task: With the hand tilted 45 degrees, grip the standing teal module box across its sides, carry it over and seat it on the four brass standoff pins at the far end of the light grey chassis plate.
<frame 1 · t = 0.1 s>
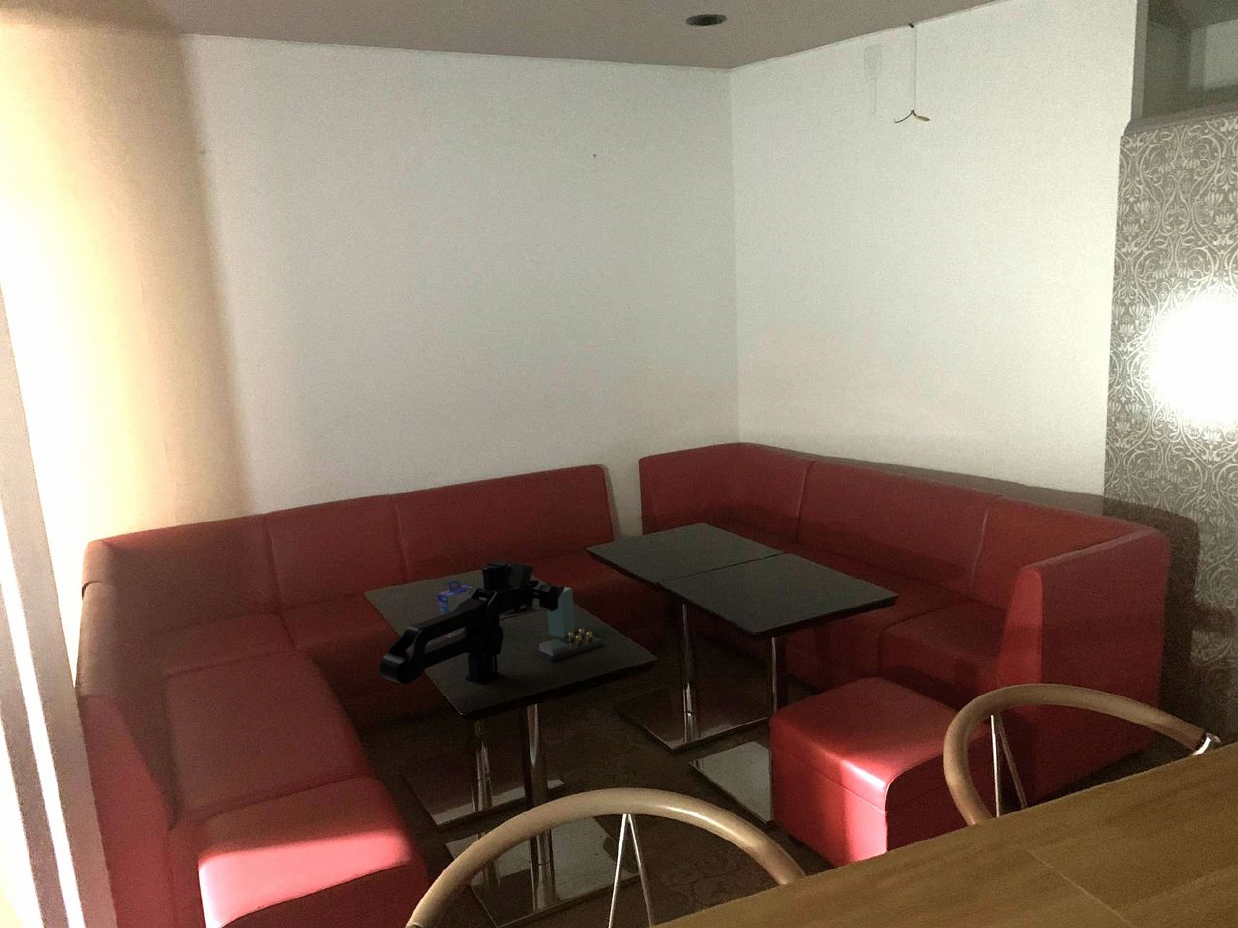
hand: (550, 584, 247), 17 cm above the table, tool horizontal, fingers open, 9 cm apart
module: (561, 633, 258), on the table
chassis: (581, 645, 248), on the table
ink cartridge box: (460, 632, 264), on the table
graphics card: (505, 608, 285), on the table
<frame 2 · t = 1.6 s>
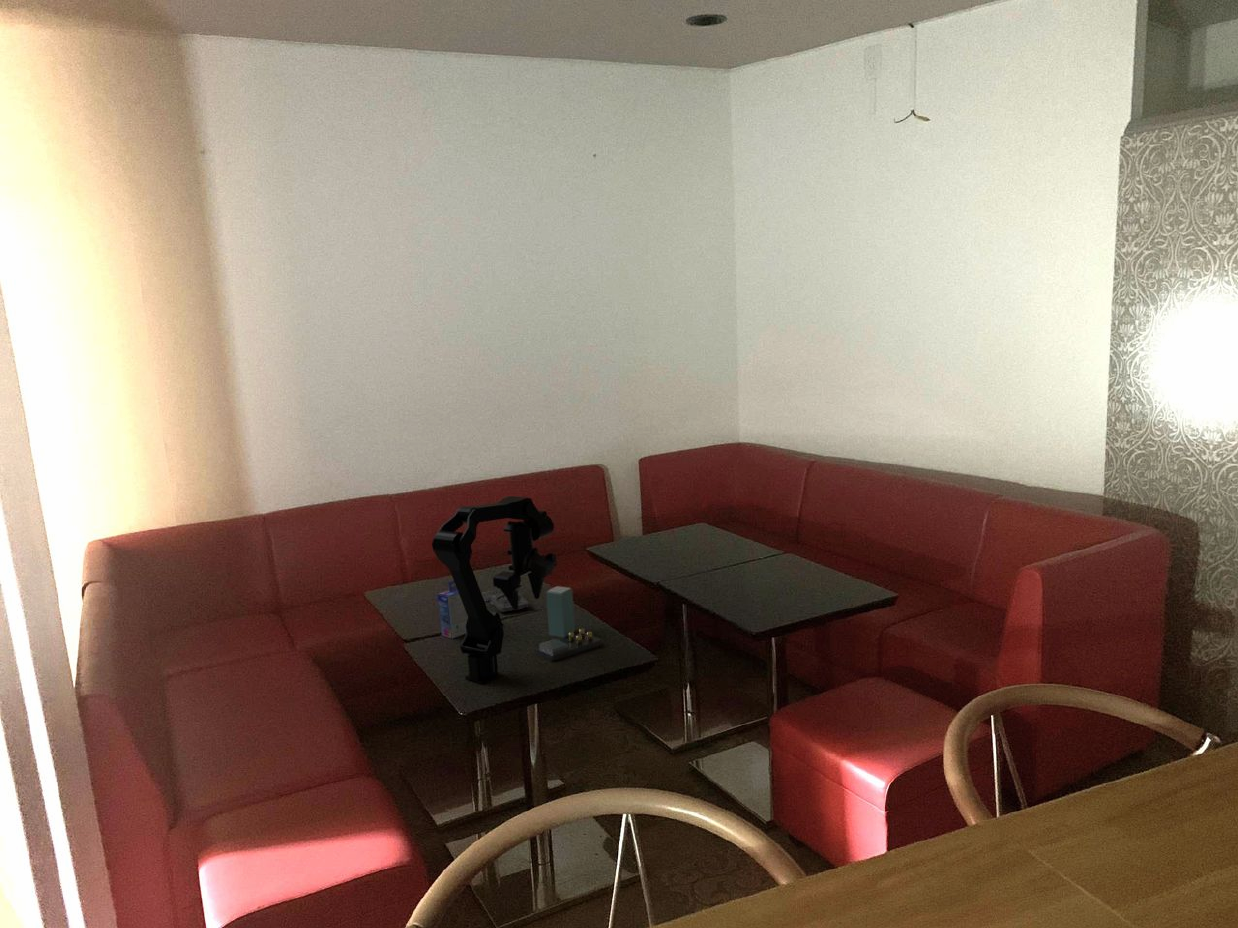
hand: (526, 604, 243), 13 cm above the table, tool pointing down, fingers open, 9 cm apart
nothing on the table moved.
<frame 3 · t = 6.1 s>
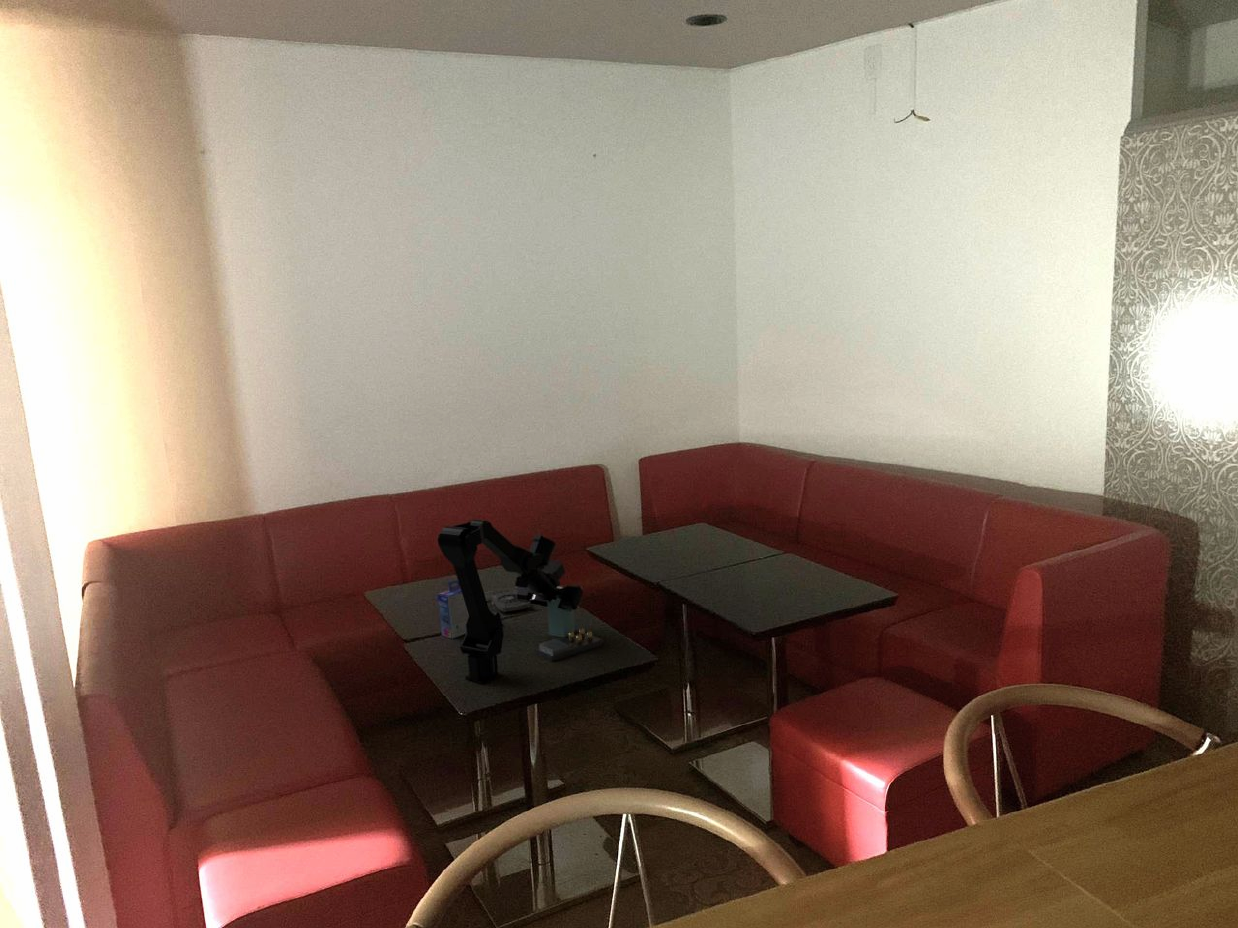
hand: (563, 608, 258), 7 cm above the table, tool tilted 45°, fingers closed on module, 5 cm apart
module: (561, 633, 258), on the table, touching gripper
everything else where it was.
when the fingers open (11 cm above the table, at t = 8.9 s): module stays where it is, resting on chassis.
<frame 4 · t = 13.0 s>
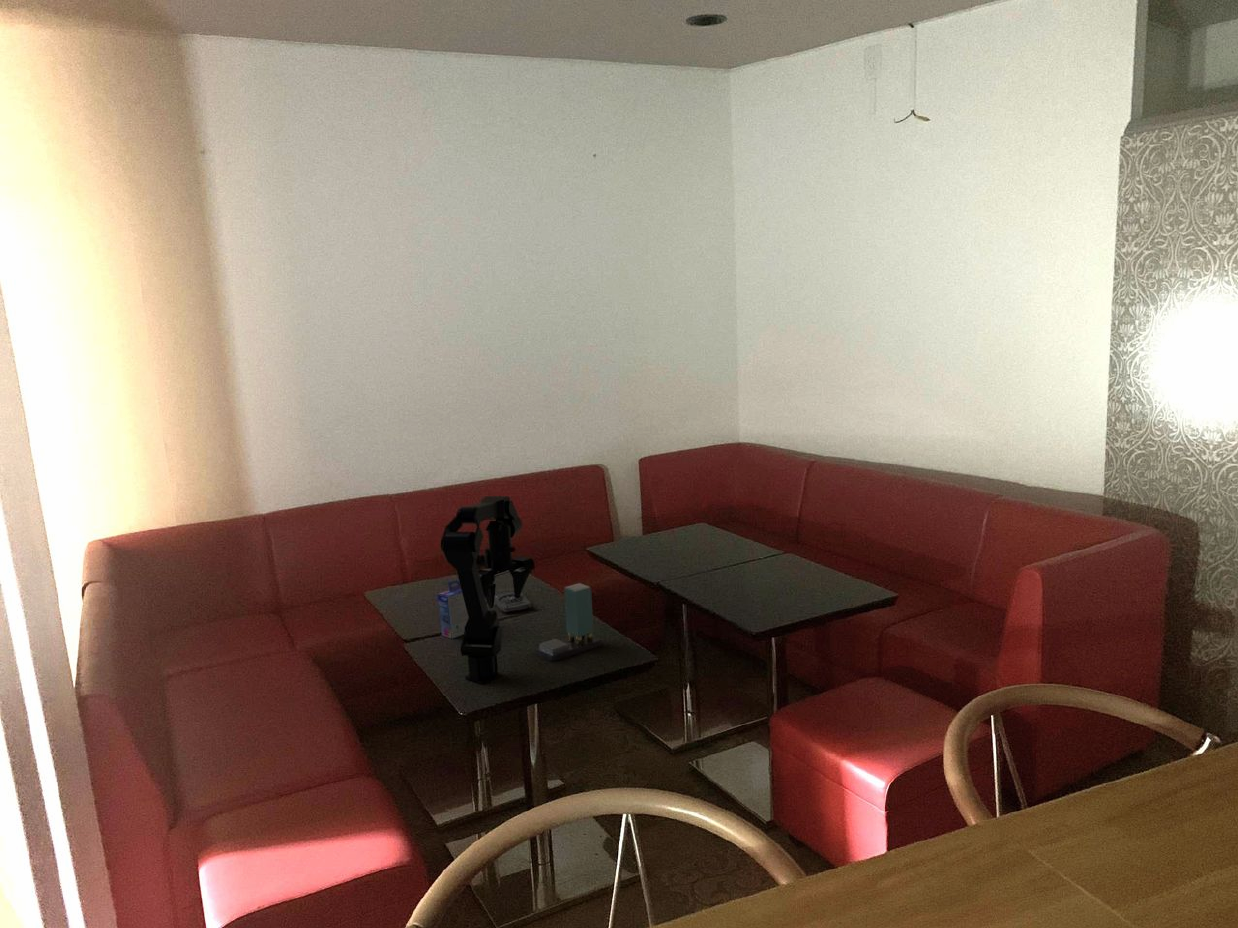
hand: (504, 602, 245), 13 cm above the table, tool pointing down, fingers open, 9 cm apart
module: (580, 632, 248), point 3 cm above the table, touching chassis
everything else where it was.
at the end: module 0.1 cm off-centre on the chassis, point 3.5 cm above the chassis's base; module tilted 0°; the gripper is holding nothing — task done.
